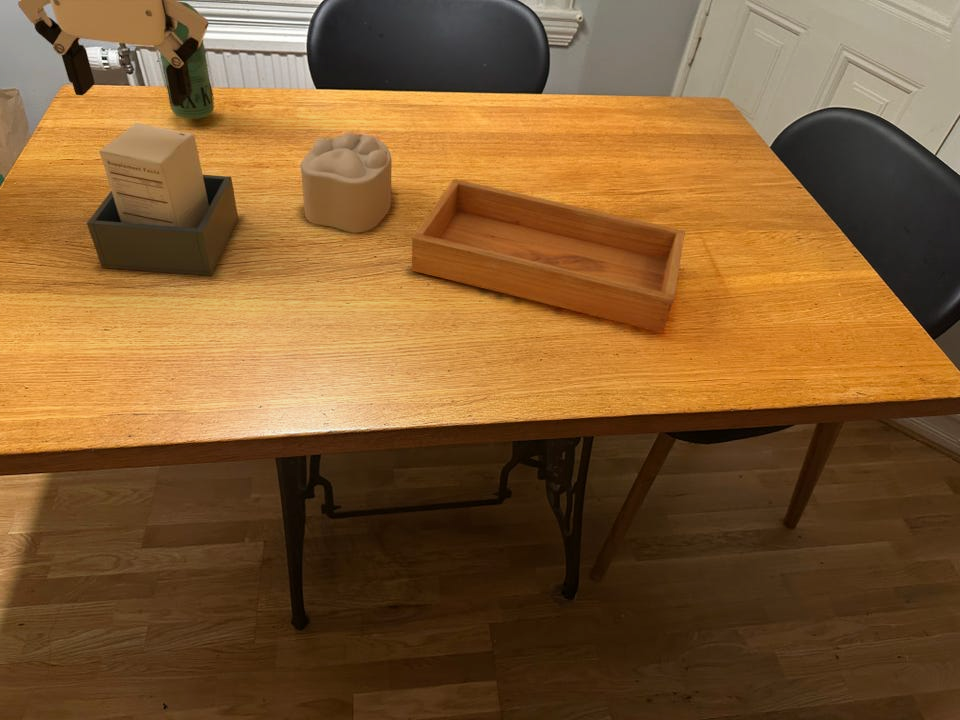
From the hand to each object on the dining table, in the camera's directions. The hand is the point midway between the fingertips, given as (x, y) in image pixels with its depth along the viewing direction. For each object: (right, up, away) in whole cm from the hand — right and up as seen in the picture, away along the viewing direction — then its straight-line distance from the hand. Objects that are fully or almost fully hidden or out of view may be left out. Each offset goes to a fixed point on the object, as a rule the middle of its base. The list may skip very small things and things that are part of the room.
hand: (133, 95), depth 73 cm
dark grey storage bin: (-1, -13, +12) cm, 18 cm away
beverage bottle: (-8, +10, +36) cm, 38 cm away
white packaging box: (-1, -13, +12) cm, 18 cm away
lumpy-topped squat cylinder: (+19, -6, +22) cm, 30 cm away
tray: (+45, -16, +15) cm, 50 cm away
